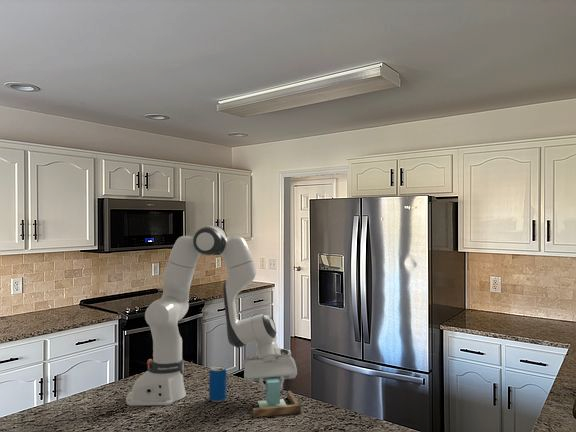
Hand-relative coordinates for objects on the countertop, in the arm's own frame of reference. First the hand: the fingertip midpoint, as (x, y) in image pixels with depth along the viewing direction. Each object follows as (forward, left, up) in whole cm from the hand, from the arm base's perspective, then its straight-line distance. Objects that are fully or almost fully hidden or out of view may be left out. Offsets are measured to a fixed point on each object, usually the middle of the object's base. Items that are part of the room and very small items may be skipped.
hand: (273, 390), depth 167 cm
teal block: (0, +1, -5) cm, 5 cm away
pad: (0, +1, -6) cm, 6 cm away
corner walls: (0, 0, -6) cm, 6 cm away
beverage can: (-19, +11, -6) cm, 23 cm away
